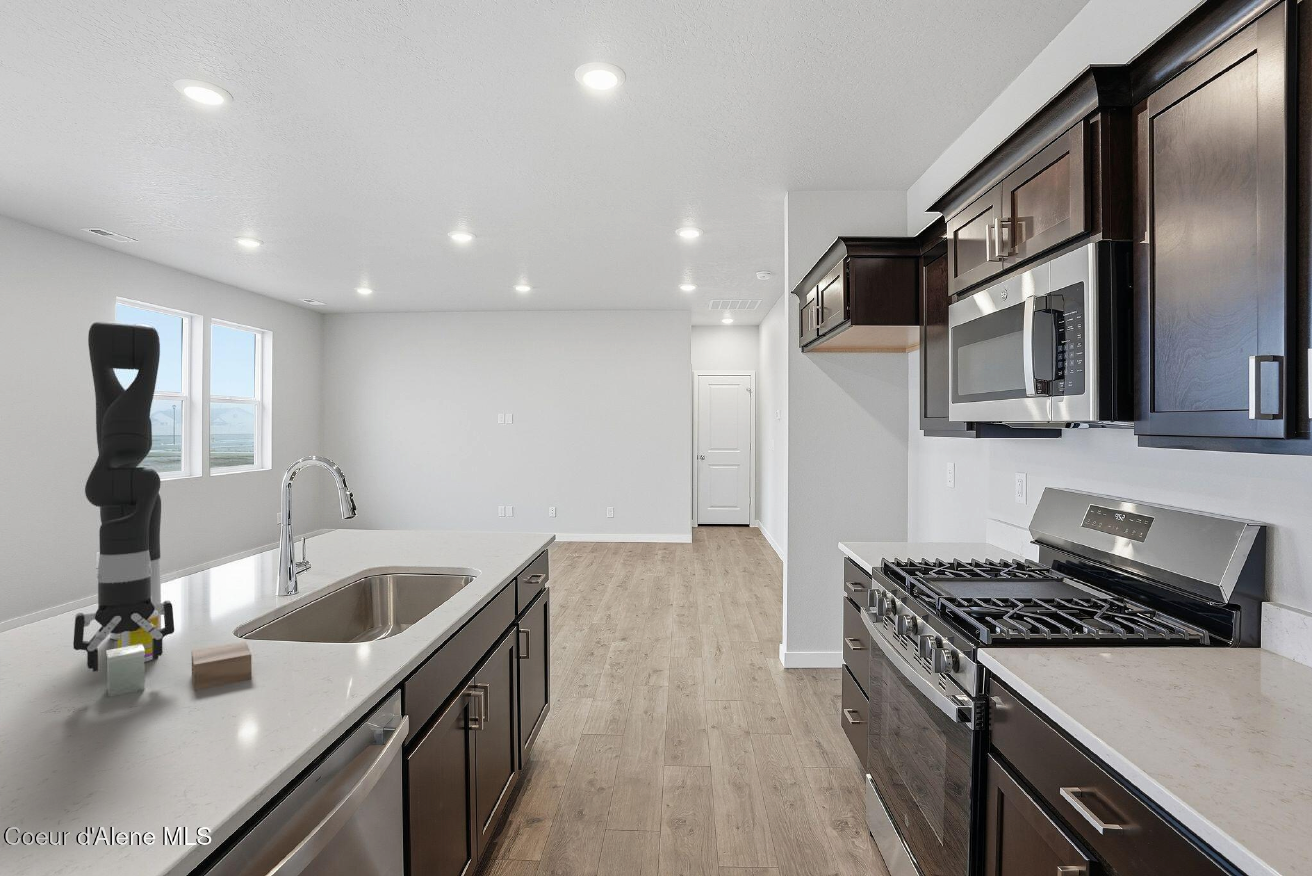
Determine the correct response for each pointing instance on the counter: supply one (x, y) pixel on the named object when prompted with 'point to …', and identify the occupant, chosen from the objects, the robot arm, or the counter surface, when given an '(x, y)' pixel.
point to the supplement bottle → (140, 637)
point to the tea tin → (125, 669)
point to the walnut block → (221, 665)
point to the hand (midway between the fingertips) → (125, 664)
